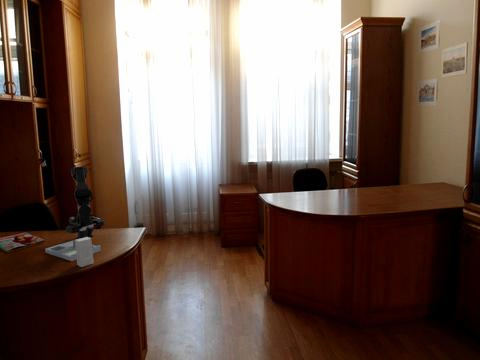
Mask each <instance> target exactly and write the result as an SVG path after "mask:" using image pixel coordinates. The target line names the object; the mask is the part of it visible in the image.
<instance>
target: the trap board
mask: <svg viewBox="0 0 480 360" xmlns="http://www.w3.org/2000/svg"><path fill="white" fill-rule="evenodd" d="M74 240H75V239H73V240H70V241H66V242H63V243H59V244H57V245H53V246H50V247H46V248H45V250H44V251H45V253H46V254H49V255H51V256H55V257H58V258H61V259H63V260H67V261H70V262H73V261H77V256H76V247H75V246H73V241H74ZM92 251H93V255H94V254H96V253H99V251H100V252H101V251H102V248H101V245H94V244H92Z"/></svg>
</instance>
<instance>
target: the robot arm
mask: <svg viewBox="0 0 480 360" xmlns="http://www.w3.org/2000/svg"><path fill="white" fill-rule="evenodd" d="M70 173H71V174H70V175H71V176H72V179H73V180H74V181H75V183H76V185H75V186H74V187H75V188H74V189H75V190H74V200H75V204H77V213H76V217H74V216H70V217H68V222H69V224H70V225H67V226H66V228H65V232H66V233H69V234H77V236H76V237H77V239H81V238H85V237H89V238H92V237H94V236H95V235H94V234H93V232H94V231H95V229H96V227H94V226H95V225H98V226H101V227H102V226H104V225H105V221H104V219H102V218H94V217H93V213H92V208H91V204H90V203H92V202H93V200H94V197H93V191H92V190H91V189H90V187H89V184H87V183H86V179H87V177H88V176H87V175H88V174H89V172H88V167H85V166H83V165H82V166H74V167H73V168H71V169H70ZM71 224H72V225H71Z"/></svg>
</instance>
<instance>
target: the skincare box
mask: <svg viewBox="0 0 480 360" xmlns="http://www.w3.org/2000/svg"><path fill="white" fill-rule="evenodd" d="M74 240H75V247H76V256H77V260H76V263H77V264H76V265H77V266H78V267H80V268H84V267H86V266H90V265H93V264H94V254H93V251H92V245H93V243H92V237H90V238H89V237H85V238H77V239H74Z"/></svg>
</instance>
